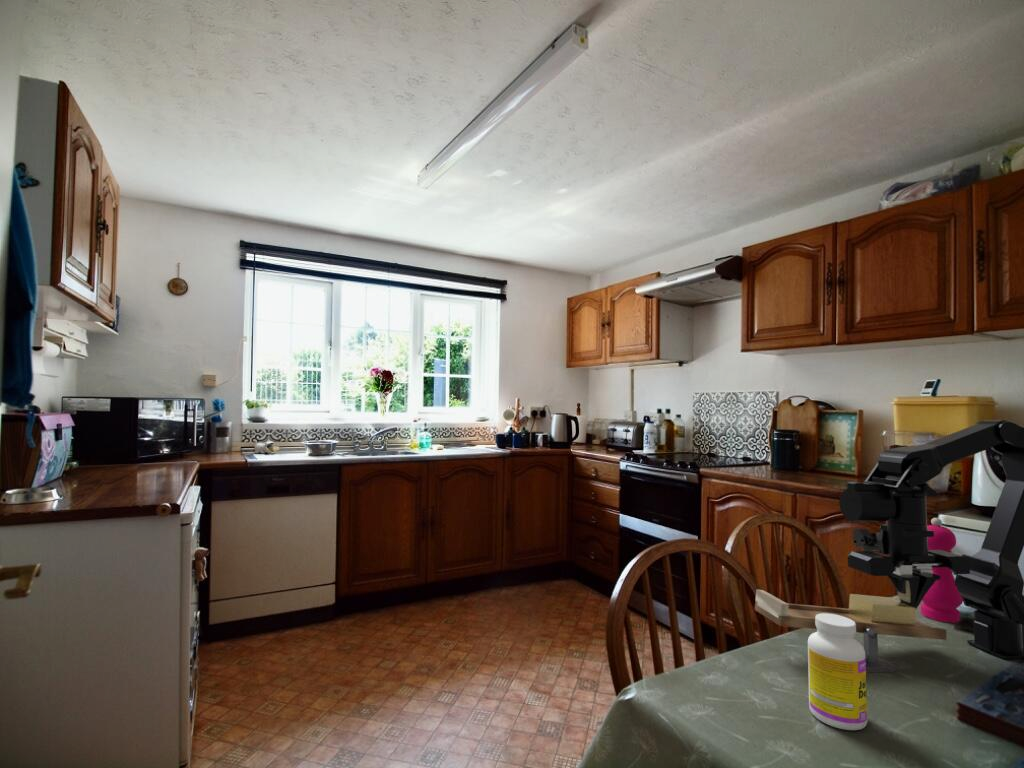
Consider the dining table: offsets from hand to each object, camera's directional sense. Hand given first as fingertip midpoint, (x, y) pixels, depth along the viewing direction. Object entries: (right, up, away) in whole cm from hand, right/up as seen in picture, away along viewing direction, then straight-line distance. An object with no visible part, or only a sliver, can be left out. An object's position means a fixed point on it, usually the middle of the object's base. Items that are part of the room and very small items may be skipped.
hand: (909, 612), depth 90 cm
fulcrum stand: (-12, -6, -2) cm, 13 cm away
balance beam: (-11, -1, -1) cm, 12 cm away
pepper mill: (+19, -8, +16) cm, 26 cm away
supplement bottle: (-25, -5, -21) cm, 33 cm away
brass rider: (-5, -1, -1) cm, 6 cm away
